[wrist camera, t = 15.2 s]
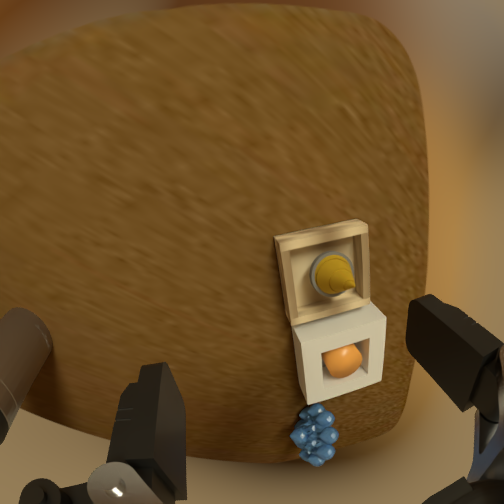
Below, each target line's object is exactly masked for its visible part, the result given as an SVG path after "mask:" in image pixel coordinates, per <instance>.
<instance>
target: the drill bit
mask: <svg viewBox="0 0 504 504" xmlns="http://www.w3.org/2000/svg"><path fill="white" fill-rule="evenodd" d="M309 278H310V282H311V284H312V286H313V288H314V289H315V290H316V291H317V292H319V293H320V294H322V295H324V296H327V297H336V296H339V295H341V294H343V293H344V292H345V291H346V290H348V289H351V288H354V287H355V286H356V285H355V281H354V268H353V264H352V262H351V260H350V259H349V258H348V257H347V256H346V255H344V254H343V253H340V252H337V251H326V252H323V253H322V254H320V255H319V256H317V257H316V258H315V260H314V261H313V263H312V264H311V267H310V271H309Z"/></svg>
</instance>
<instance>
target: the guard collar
mask: <svg viewBox="0 0 504 504" xmlns="http://www.w3.org/2000/svg"><path fill="white" fill-rule="evenodd" d="M291 327H292V335H293V342H294V349H295V357H296V364H297V372H298V380H299V385H300V387H301V390H302V392H303V395H304V397H305V400H306V402H307V404H308V405H310V404H313V403H317V402H320V401H323V400H327V399H330V398H333V397H336V396H339V395H342V394H345V393H348V392H351V391H354V390H357V389H360V388H362V387H365V386H368V385H371V384H373V383H376V382H379V381H381V379H382V369H383V359H384V347H385V333H386V316H385V315H384V314H383V313H382V312H381V311H380V310H379V309H378V308H377V307H376V306H375V305H374V304H373V303H372V302H371V301H370V304H368V305H365V306H362V307H358V308H355V309H352V310H348V311H345V312H341V313H338V314H334V315H331V316H327V317H324V318H320V319H316V320H313V321H309V322H305V323H302V324H298V325H294V326H291ZM349 344H354V345H355V346H356V348H357V349H358V350H359V352H360V353H361V355H362V363H361V365H360V367H359V368H358V369H357V370H356V371H355V372H354V373H353V374H351V375H349V376H347V377H344V378H336V377H333V376H332V375H331V374H330V372H329V370H328V368H327V367H326V365H325V363H324V361H323V359H322V357H321V353H323V352H327V351H330V350H333V349H337V348H340V347H343V346H346V345H349Z"/></svg>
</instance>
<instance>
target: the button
mask: <svg viewBox="0 0 504 504" xmlns="http://www.w3.org/2000/svg"><path fill="white" fill-rule="evenodd" d="M321 357H322V359H323V361H324V363H325V365H326V367H327V368H328V370H329V372H330V374H331V375H332V376H333V377H336V378H344V377H347V376H349V375H351V374H353V373H354V372H355V371H356V370H357V369H358V368H359V367H360V365H361V363H362V355H361V353H360V352H359V350H358V349H357V348H356V346H355V345H354V344H349V345H346V346H343V347H340V348H337V349H333V350H330V351H327V352H323V353H321Z"/></svg>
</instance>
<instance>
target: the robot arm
mask: <svg viewBox="0 0 504 504" xmlns="http://www.w3.org/2000/svg"><path fill="white" fill-rule="evenodd" d="M406 345H407V348H408V351H409V352H410V354H411V355H412V356H413V357H414V358H415V359H416V360H417V362H418V363H419V364H420V365H421V366H422V367H423V368H424V369H425V370H426V371H427V372H428V374H429V375H430V376H431V377H432V378H433V379H434V380H435V382H436V383H437V384H438V385H439V386H440V387H441V388H442V389H443V391H444V392H445V393H446V394H447V395H448V396H449V397H450V398H451V400H452V401H453V402H454V403H455V404H456V405H457V406H458V408H459V409H460V410H461V411H462V412H464V411H466V410H468V409H469V408H471V407H472V406H475V407H476V408H477V410H476V413H475V435H474V455H473V463H472V466H471V469H470V472H469V474H468V477H467V480H466V479H465V477H462V478H460V479H459V480H457V481H456V482H454V483H453V484H451V485H449V486H448V487H446V488H444V489H443V490H441V491H439V492H437V493H436V494H434V495H432V496H430V497H429V498H428V499H427V500H425V501H424V502H423V503H422V504H504V343H503V342H501V341H500V340H499V339H498V338H496V337H495V336H494V335H493V334H491V333H490V332H489V331H488V330H486V329H485V328H484V327H482V326H481V325H480V324H478V323H476V321H475V320H473V319H472V318H470V317H468V315H467V314H465V313H464V312H463V311H461V310H460V309H459V308H457V307H454V306H451V305H449V304H446V303H443V302H442V301H440V300H439V299H438V298H436V297H435V296H434V295H432V294H428V295H425V296H423V297H420V298H417V299H414V300H412V301H411V302H410V304H409V308H408V319H407V329H406ZM51 350H52V338H51V335H50V332H49V330H48V328H47V327H46V325H45V324H44V323H43V321H42V320H41V319H40V318H39V317H38V316H37V315H35V314H34V313H33V312H31V311H29V310H27V309H24V308H12V309H11V310H9V311H8V312H7V313H6V314H5V315H4V317H3V318H2V319H1V320H0V445H1V444H2V443H3V441H4V439H5V437H6V435H7V432H8V430H9V429H10V427H11V424H12V422H13V420H14V418H15V416H16V414H17V412H18V410H19V408H20V406H21V404H22V402H23V400H24V398H25V397H26V395H27V393H28V391H29V389H30V387H31V385H32V384H33V382H34V380H35V378H36V376H37V375H38V373H39V371H40V369H41V368H42V366H43V364H44V363H45V361H46V359H47V357H48V356H49V354H50V352H51ZM115 420H116V422H115V423H114V427H113V432H112V437H111V441H110V447H109V452H108V457H107V461H106V464H103V465H101V466H99V467H98V468H96V470H95V471H93V473H92V474H91V475H90V477H89V479H88V482H86V483H83V484H79V485H74V486H70V487H65V488H59V487H58V486H57V485H56V484H55V483H54V482H52V481H51V480H48V479H44V478H40V479H36V480H33V481H31V482H30V483H28V484H27V485H26V486H25V487H24V489H23V490H22V493H21V496H20V500H19V504H175V501H176V500H187V487H186V415H185V406H184V402H183V399H182V396H181V394H180V392H179V389H178V387H177V385H176V382H175V380H174V378H173V376H172V373H171V371H170V368H169V366H168V364H167V363H166V362H162V363H156V364H149V365H143V366H142V367H141V370H140V374H139V379H138V383H130V384H129V385H128V386H127V388H126V389H125V390H124V392H123V393H122V395H121V397H120V401H119V405H118V411H117V414H116V418H115Z"/></svg>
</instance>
